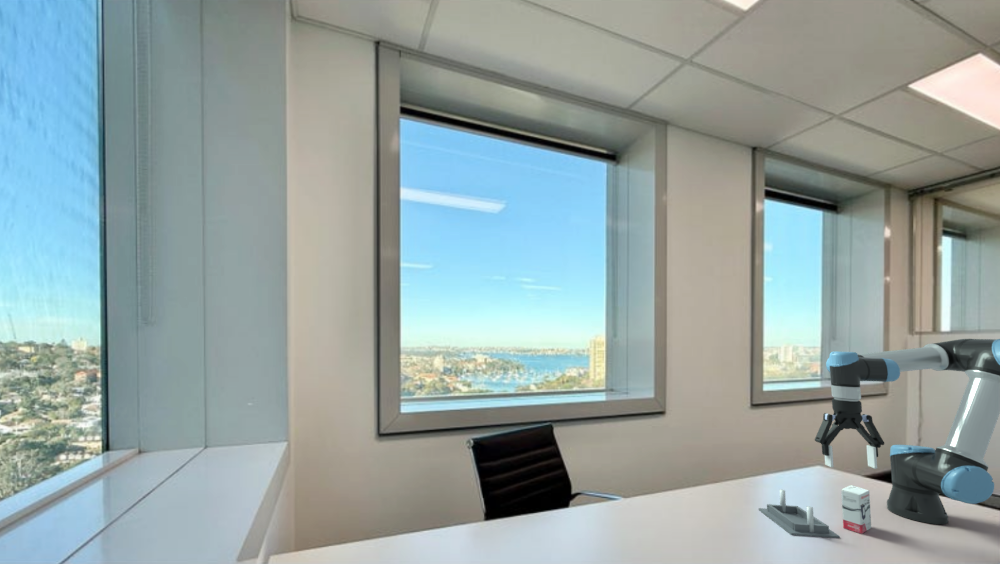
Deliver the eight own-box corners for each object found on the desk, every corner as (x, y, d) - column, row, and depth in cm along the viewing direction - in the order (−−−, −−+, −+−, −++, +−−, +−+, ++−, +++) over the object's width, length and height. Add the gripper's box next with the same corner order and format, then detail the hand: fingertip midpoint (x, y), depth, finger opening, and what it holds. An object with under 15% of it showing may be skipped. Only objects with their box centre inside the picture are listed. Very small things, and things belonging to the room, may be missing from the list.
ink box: (862, 534, 131) (860, 494, 132) (842, 528, 135) (840, 489, 136) (872, 528, 135) (869, 489, 137) (852, 522, 139) (850, 484, 141)
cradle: (800, 512, 146) (799, 489, 146) (839, 538, 128) (838, 511, 129) (758, 510, 146) (757, 486, 147) (791, 535, 129) (790, 508, 129)
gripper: (875, 398, 143) (880, 464, 141) (799, 396, 144) (803, 461, 141) (895, 402, 135) (901, 471, 133) (815, 400, 136) (819, 469, 134)
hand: (850, 466), depth 137 cm, fingers open, 13 cm apart
